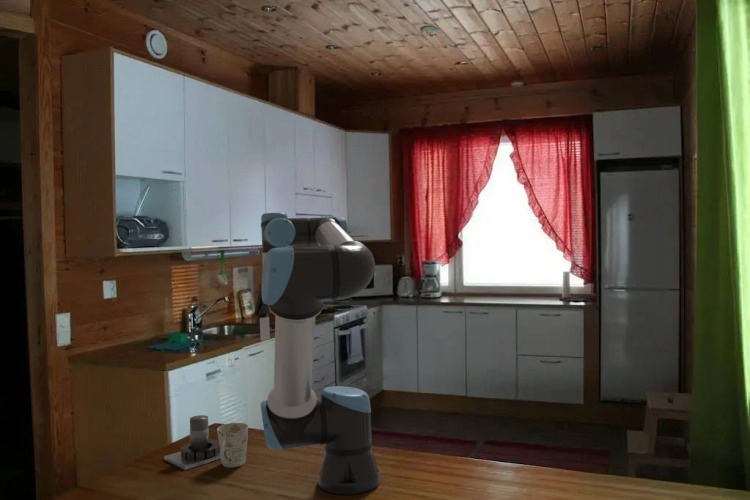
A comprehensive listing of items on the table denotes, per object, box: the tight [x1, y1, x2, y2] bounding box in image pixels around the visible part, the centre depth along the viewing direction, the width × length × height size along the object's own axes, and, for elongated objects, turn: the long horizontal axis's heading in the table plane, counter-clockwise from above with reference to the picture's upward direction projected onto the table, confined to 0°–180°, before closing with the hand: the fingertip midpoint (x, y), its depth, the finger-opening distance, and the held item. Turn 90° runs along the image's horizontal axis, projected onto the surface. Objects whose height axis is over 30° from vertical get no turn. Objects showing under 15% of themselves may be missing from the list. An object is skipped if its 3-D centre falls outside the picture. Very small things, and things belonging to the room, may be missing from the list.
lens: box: [189, 415, 210, 450], centre depth 173 cm, size 5×5×10 cm
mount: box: [163, 439, 221, 471], centre depth 173 cm, size 12×16×3 cm
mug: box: [216, 422, 249, 468], centre depth 165 cm, size 8×13×10 cm, turn 174°
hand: (279, 342), depth 173 cm, fingers open, 13 cm apart
